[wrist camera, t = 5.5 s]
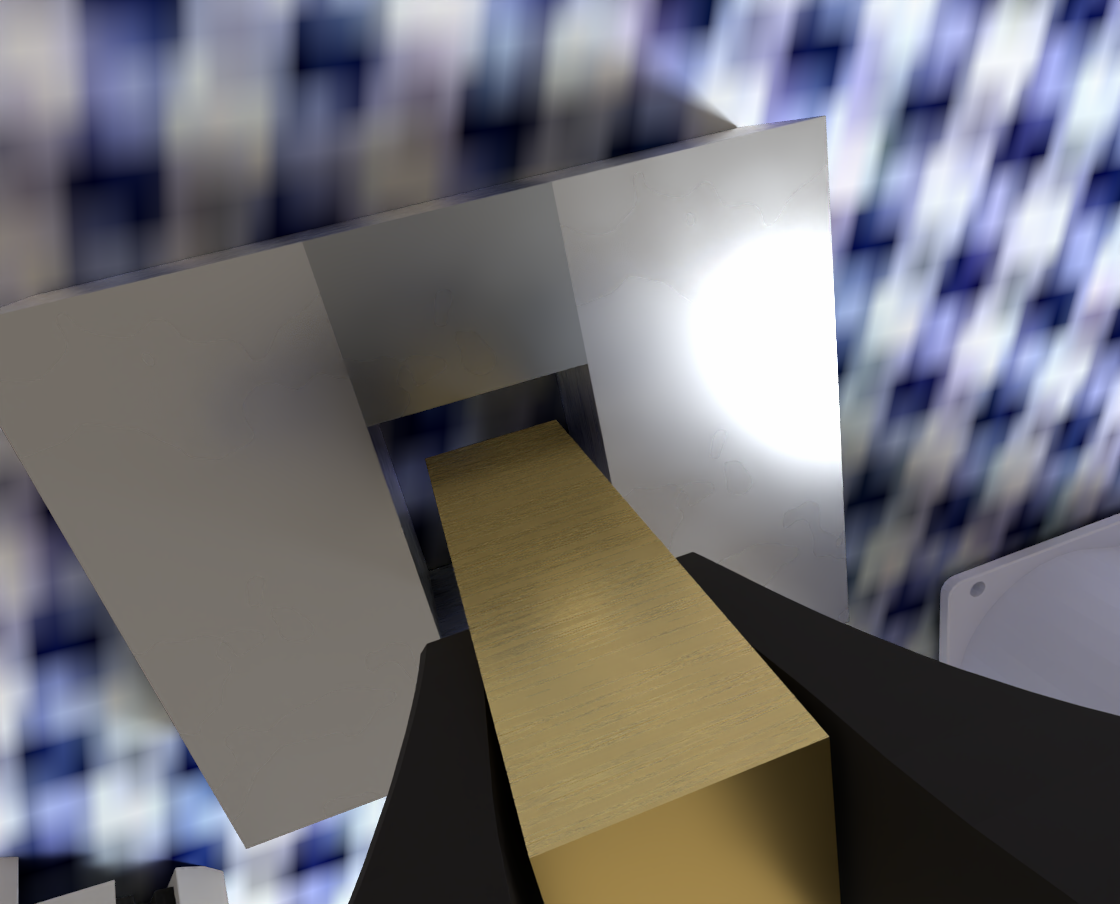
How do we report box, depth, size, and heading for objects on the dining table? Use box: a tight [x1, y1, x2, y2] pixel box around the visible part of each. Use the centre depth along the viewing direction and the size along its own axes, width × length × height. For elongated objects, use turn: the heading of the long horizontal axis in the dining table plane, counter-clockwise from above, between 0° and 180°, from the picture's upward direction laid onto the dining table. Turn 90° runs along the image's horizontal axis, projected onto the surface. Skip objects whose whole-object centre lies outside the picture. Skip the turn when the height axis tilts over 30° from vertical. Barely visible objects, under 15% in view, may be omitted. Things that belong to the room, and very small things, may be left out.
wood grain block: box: [425, 420, 841, 904], centre depth 9 cm, size 2×3×8 cm
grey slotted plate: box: [0, 116, 849, 849], centre depth 15 cm, size 14×11×3 cm
